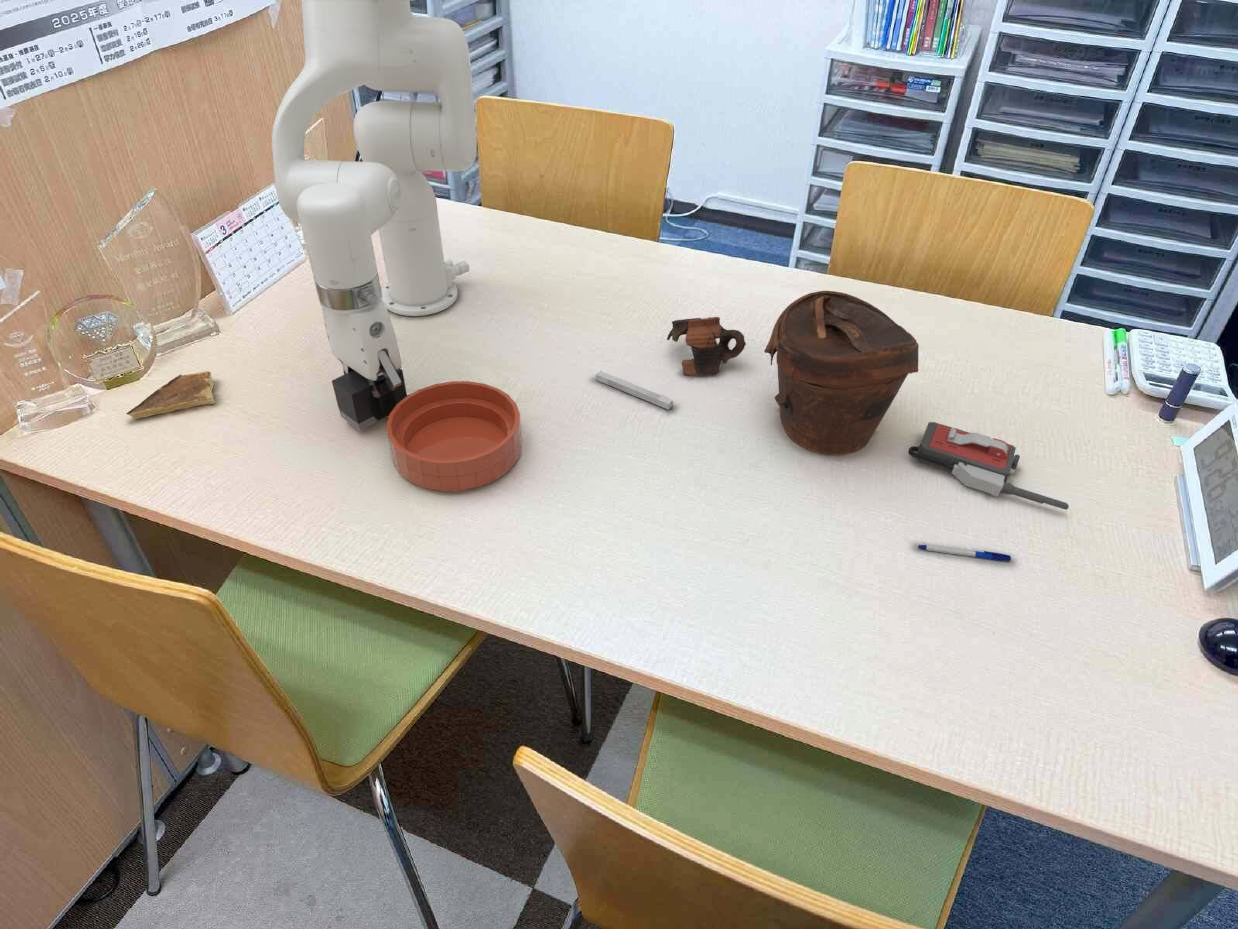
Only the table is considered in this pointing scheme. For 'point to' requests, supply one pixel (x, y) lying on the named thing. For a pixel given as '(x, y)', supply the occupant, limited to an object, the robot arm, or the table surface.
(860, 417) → the case
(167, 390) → the shard
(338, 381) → the eraser
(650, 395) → the grey bar
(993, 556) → the ballpoint pen
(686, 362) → the pottery mug
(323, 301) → the robot arm
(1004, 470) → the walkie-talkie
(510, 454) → the bowl
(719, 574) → the table surface
